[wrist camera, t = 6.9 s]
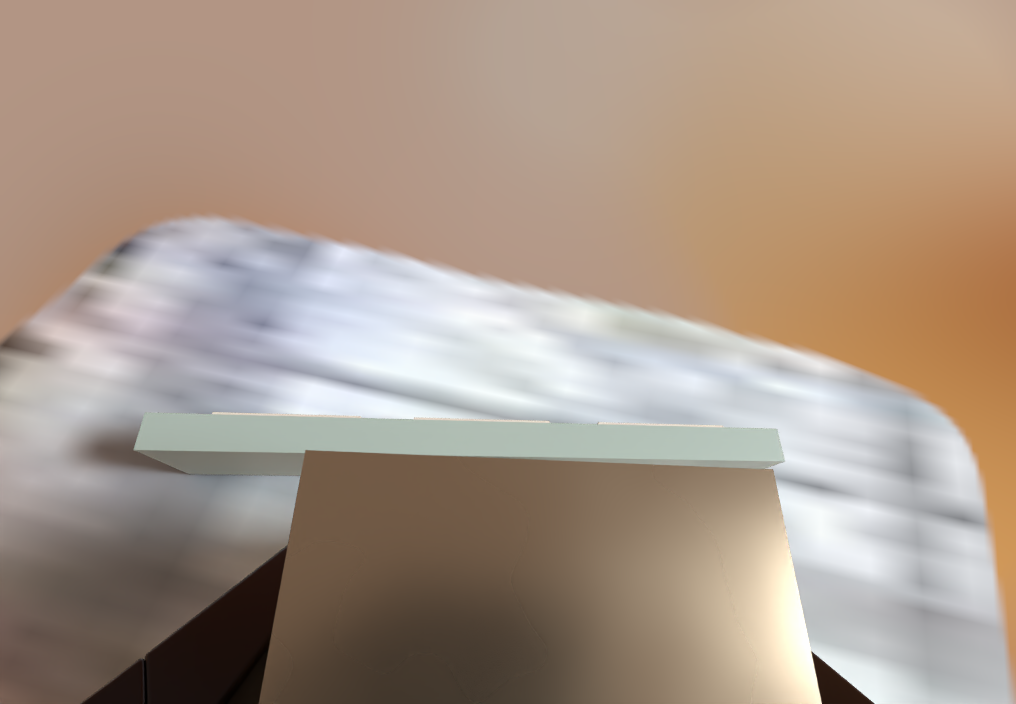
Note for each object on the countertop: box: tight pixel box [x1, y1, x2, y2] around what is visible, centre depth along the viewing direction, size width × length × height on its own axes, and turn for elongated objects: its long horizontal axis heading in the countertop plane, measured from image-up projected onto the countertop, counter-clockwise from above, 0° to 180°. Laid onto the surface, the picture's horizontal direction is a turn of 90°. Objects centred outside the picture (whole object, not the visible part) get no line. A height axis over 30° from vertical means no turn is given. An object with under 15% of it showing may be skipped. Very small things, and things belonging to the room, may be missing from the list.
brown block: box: [259, 450, 822, 704], centre depth 10 cm, size 5×4×11 cm
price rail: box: [134, 412, 785, 476], centre depth 16 cm, size 18×1×3 cm, turn 91°
